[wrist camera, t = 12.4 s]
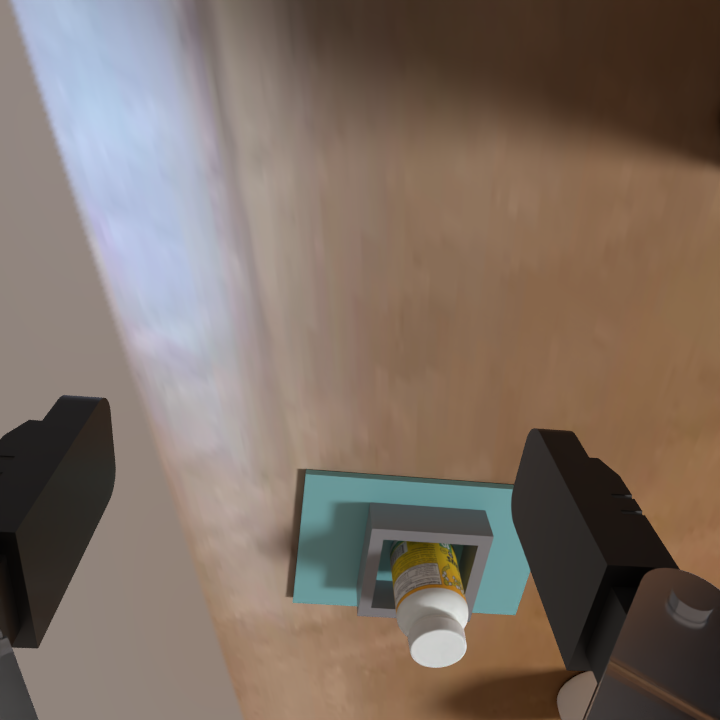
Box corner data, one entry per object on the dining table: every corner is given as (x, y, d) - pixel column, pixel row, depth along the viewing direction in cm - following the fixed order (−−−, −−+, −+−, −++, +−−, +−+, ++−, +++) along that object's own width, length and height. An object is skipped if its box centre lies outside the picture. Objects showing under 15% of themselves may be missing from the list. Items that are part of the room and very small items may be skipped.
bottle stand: (553, 487, 51) (568, 518, 47) (513, 609, 57) (524, 643, 54) (306, 469, 49) (304, 499, 46) (293, 597, 55) (290, 631, 52)
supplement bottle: (383, 531, 51) (393, 630, 43) (448, 519, 51) (471, 616, 42) (395, 577, 54) (407, 680, 45) (457, 566, 53) (481, 667, 45)
